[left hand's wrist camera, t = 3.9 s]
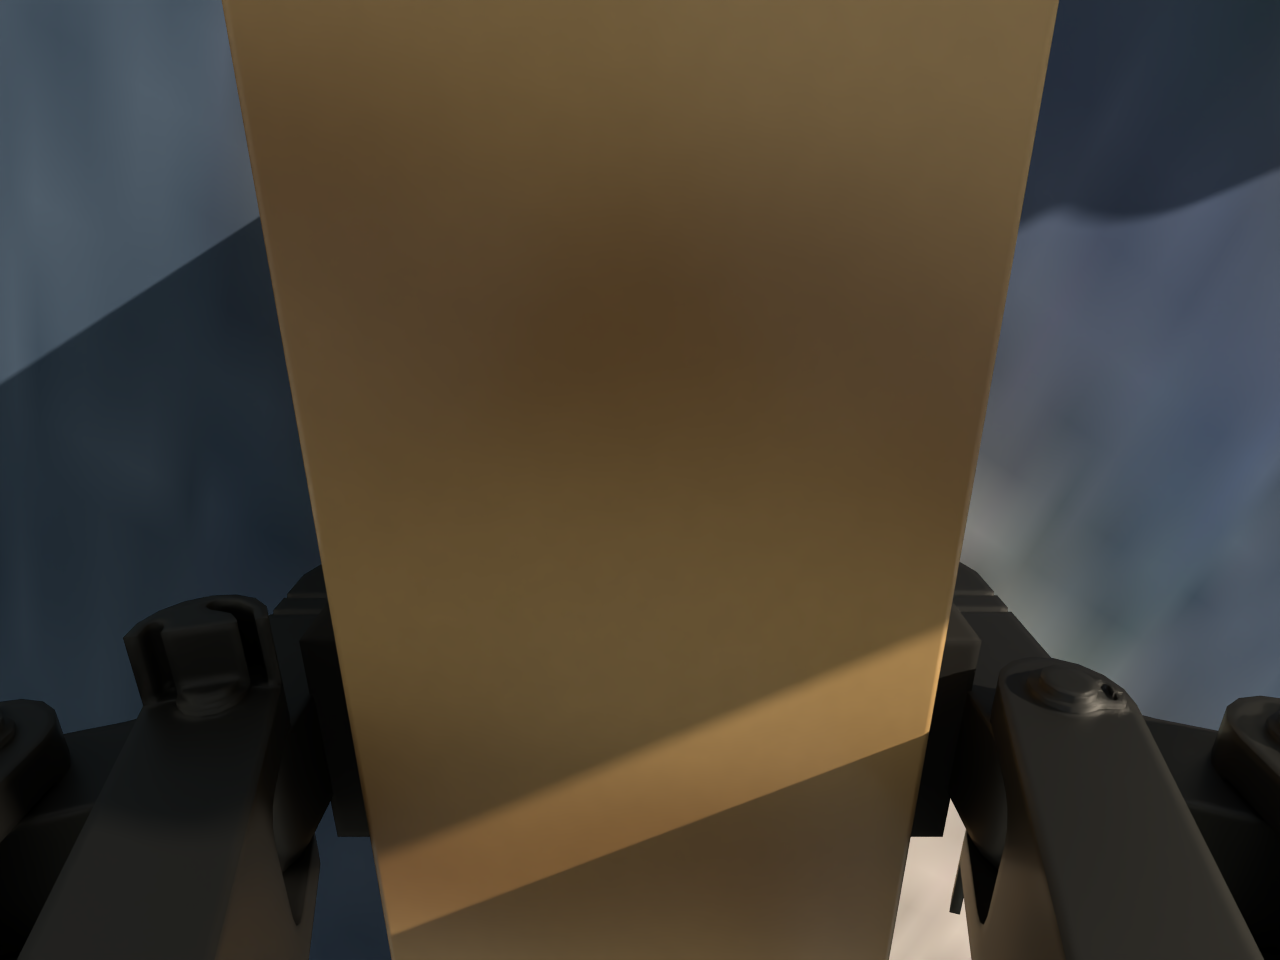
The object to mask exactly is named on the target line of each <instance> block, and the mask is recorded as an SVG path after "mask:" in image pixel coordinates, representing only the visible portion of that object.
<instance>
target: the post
mask: <svg viewBox="0 0 1280 960" xmlns="http://www.w3.org/2000/svg"><path fill="white" fill-rule="evenodd" d="M1058 3H1059V0H222V4H223V10H224V16H225V21H226V27H227V32H228V38H229V44H230V49H231V55H232V61H233V66H234V72H235V78H236V83H237V89H238V95H239V100H240V106H241V112H242V117H243V123H244V128H245V134H246V140H247V145H248V151H249V157H250V162H251V168H252V174H253V179H254V185H255V191H256V196H257V202H258V207H259V213H260V219H261V224H262V230H263V236H264V241H265V247H266V253H267V258H268V264H269V270H270V275H271V281H272V286H273V292H274V298H275V303H276V309H277V315H278V320H279V326H280V332H281V337H282V343H283V349H284V354H285V360H286V365H287V371H288V377H289V382H290V388H291V394H292V399H293V405H294V411H295V416H296V422H297V428H298V433H299V439H300V444H301V450H302V456H303V461H304V467H305V473H306V478H307V484H308V490H309V495H310V501H311V507H312V512H313V518H314V523H315V529H316V535H317V540H318V546H319V552H320V557H321V563H322V569H323V574H324V580H325V586H326V591H327V597H328V602H329V608H330V614H331V619H332V625H333V631H334V636H335V642H336V648H337V653H338V659H339V665H340V670H341V676H342V681H343V687H344V693H345V698H346V704H347V710H348V715H349V721H350V727H351V732H352V738H353V744H354V749H355V755H356V760H357V766H358V772H359V777H360V783H361V789H362V794H363V800H364V806H365V811H366V817H367V823H368V828H369V834H370V839H371V845H372V851H373V856H374V862H375V868H376V873H377V879H378V885H379V890H380V896H381V902H382V907H383V913H384V919H385V924H386V930H387V935H388V941H389V947H390V952H391V958H392V960H889V956H890V950H891V944H892V939H893V933H894V927H895V922H896V916H897V910H898V905H899V899H900V894H901V888H902V882H903V877H904V871H905V865H906V860H907V854H908V848H909V843H910V837H911V832H912V826H913V820H914V815H915V809H916V803H917V798H918V792H919V786H920V781H921V775H922V770H923V764H924V758H925V753H926V747H927V741H928V736H929V730H930V724H931V719H932V713H933V708H934V702H935V696H936V691H937V685H938V679H939V674H940V668H941V662H942V657H943V651H944V646H945V640H946V634H947V629H948V623H949V617H950V612H951V606H952V600H953V595H954V589H955V584H956V578H957V572H958V567H959V561H960V555H961V550H962V544H963V538H964V533H965V527H966V522H967V516H968V510H969V505H970V499H971V493H972V488H973V482H974V476H975V471H976V465H977V460H978V454H979V448H980V443H981V437H982V431H983V426H984V420H985V414H986V409H987V403H988V398H989V392H990V386H991V381H992V375H993V369H994V364H995V358H996V352H997V347H998V341H999V336H1000V330H1001V324H1002V319H1003V313H1004V307H1005V302H1006V296H1007V290H1008V285H1009V279H1010V274H1011V268H1012V262H1013V257H1014V251H1015V245H1016V240H1017V234H1018V228H1019V223H1020V217H1021V212H1022V206H1023V200H1024V195H1025V189H1026V183H1027V178H1028V172H1029V166H1030V161H1031V155H1032V150H1033V144H1034V138H1035V133H1036V127H1037V121H1038V116H1039V110H1040V104H1041V99H1042V93H1043V88H1044V82H1045V76H1046V71H1047V65H1048V59H1049V54H1050V48H1051V42H1052V37H1053V31H1054V26H1055V20H1056V14H1057V9H1058Z"/></svg>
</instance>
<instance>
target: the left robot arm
mask: <svg viewBox="0 0 1280 960" xmlns="http://www.w3.org/2000/svg"><path fill="white" fill-rule="evenodd" d="M273 611H274V613H273V615H269V616H268V611H267V606H266V605H264V604H263V603H261V602H260V601H259V600H257V599H256V598H252V597H246V596H241V595H216V596H208V597H203V598H199V599H194V600H189V601H185V602H182V603H179V604H176V605H174V606H171V607H168V608H166V609H163V610H160V611H158V612H156V613H155V614H153V615H151V616H149V617H148V618H146V619H144V620H143V621H141V622H139V623H137V624H136V625H135V626H134V627H133V628H132V629H131V630H130V631H129V632H128V633H127V634H126V635H125V636H124V637H123V640H124V643H125V646H126V650H127V653H128V656H129V660H130V663H131V666H132V670H133V673H134V676H135V680H136V683H137V686H138V690H139V693H140V696H141V700H142V703H143V708H142V710H141V712H140V714H139V716H138V718H137V719H135V720H131V721H127V722H122V723H117V724H112V725H107V726H102V727H97V728H92V729H87V730H82V731H77V732H72V733H67V734H63V732H62V729H61V726H60V723H59V720H58V718H57V715H56V712H55V710H54V709H53V708H51V707H50V706H49V705H47V704H46V703H44V702H43V701H34V700H25V699H19V700H11V701H4V702H0V960H309V953H310V945H311V936H312V928H313V920H314V912H315V904H316V895H317V887H318V879H319V871H320V858H319V852H318V846H317V841H316V837H315V831H316V829H317V827H318V825H319V823H320V821H321V819H322V817H323V815H324V813H325V811H326V809H327V807H328V805H329V803H330V801H331V805H332V810H333V815H334V820H335V825H336V830H337V835H338V837H370V834H369V828H368V823H367V817H366V811H365V806H364V800H363V794H362V789H361V783H360V777H359V772H358V766H357V760H356V755H355V749H354V744H353V738H352V732H351V727H350V721H349V715H348V710H347V704H346V698H345V693H344V687H343V681H342V676H341V670H340V665H339V659H338V653H337V648H336V642H335V636H334V631H333V625H332V619H331V614H330V608H329V602H328V597H327V591H326V586H325V580H324V574H323V569H322V564H321V565H320V566H318V567H316V568H314V569H313V570H311V571H309V572H308V573H306V574H304V575H303V577H302V578H301V579H300V580H299V581H298V582H297V583H296V585H295V586H294V587H293V588H292V589H291V590H290V592H289V593H288V594H287V598H284V599H283V600H282V601H281V602H280V603H279V604H278V606H277V607H276V608H275V609H274V610H273ZM950 798H951V800H952V802H953V804H954V806H955V808H956V810H957V812H958V814H959V816H960V818H961V820H962V822H963V824H964V826H965V828H966V832H965V837H964V841H963V846H962V851H961V855H960V860H959V865H958V870H957V874H956V879H955V884H954V888H953V893H952V898H951V905H950V911H949V912H951V913H955V914H959V915H960V911H961V907H962V902H963V898H964V902H965V910H966V918H967V926H968V934H969V943H970V951H971V959H972V960H1280V698H1273V697H1266V696H1254V697H1245V698H1238V699H1237V700H1236V701H1234V702H1233V703H1231V704H1230V705H1228V706H1227V708H1226V711H1225V714H1224V717H1223V720H1222V722H1221V725H1220V728H1219V731H1216V730H1211V729H1206V728H1201V727H1195V726H1190V725H1185V724H1180V723H1175V722H1170V721H1165V720H1160V719H1155V718H1151V717H1147V716H1143V715H1142V714H1141V712H1140V710H1139V708H1138V706H1137V704H1136V703H1135V702H1134V701H1133V700H1132V698H1131V697H1130V696H1129V695H1128V693H1127V692H1126V691H1125V690H1124V689H1123V688H1121V687H1120V686H1119V685H1117V684H1116V683H1114V682H1113V681H1111V680H1110V679H1108V678H1107V677H1105V676H1104V675H1102V674H1100V673H1097V672H1095V671H1093V670H1090V669H1088V668H1086V667H1083V666H1081V665H1079V664H1075V663H1071V662H1067V661H1063V660H1058V659H1054V658H1051V657H1050V656H1049V655H1048V654H1047V652H1046V651H1045V650H1044V649H1043V648H1042V647H1041V646H1040V644H1039V643H1038V642H1037V641H1036V640H1035V639H1034V637H1033V636H1032V635H1031V634H1030V633H1029V632H1028V631H1027V629H1026V628H1025V627H1024V626H1023V625H1022V624H1021V622H1020V621H1019V620H1018V619H1017V618H1016V617H1015V616H1014V614H1013V613H1012V612H1008V607H1007V606H1006V605H1005V604H1004V603H1003V602H1002V601H1001V599H1000V598H999V597H998V596H997V595H994V591H993V590H992V589H991V588H990V587H989V586H988V584H987V583H986V582H985V581H984V580H983V579H982V577H981V576H980V575H979V574H978V573H977V572H976V571H974V570H972V569H971V568H969V567H967V566H966V565H964V564H962V563H961V562H959V567H958V572H957V578H956V584H955V589H954V595H953V600H952V606H951V612H950V617H949V623H948V629H947V634H946V640H945V646H944V651H943V657H942V662H941V668H940V674H939V679H938V685H937V691H936V696H935V702H934V708H933V713H932V719H931V724H930V730H929V736H928V741H927V747H926V753H925V758H924V764H923V770H922V775H921V781H920V786H919V792H918V798H917V803H916V809H915V815H914V820H913V826H912V832H911V837H943V832H944V827H945V822H946V817H947V812H948V807H949V802H950Z"/></svg>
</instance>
